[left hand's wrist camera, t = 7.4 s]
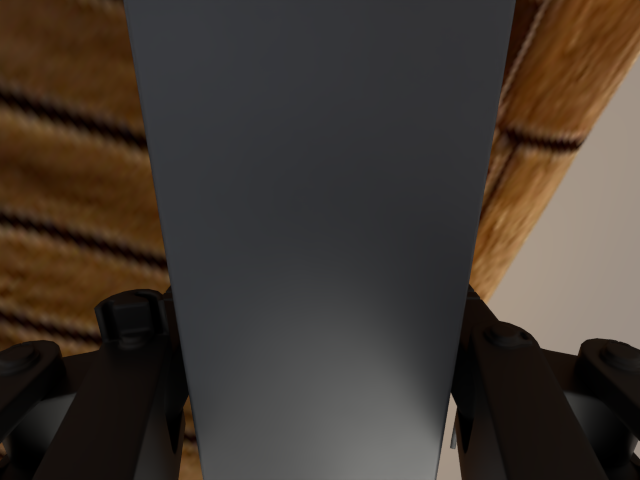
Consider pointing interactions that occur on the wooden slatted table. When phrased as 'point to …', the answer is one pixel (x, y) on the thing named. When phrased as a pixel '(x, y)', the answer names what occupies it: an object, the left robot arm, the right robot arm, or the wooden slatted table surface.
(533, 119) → the wooden slatted table surface
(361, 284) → the bar
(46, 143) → the wooden slatted table surface
